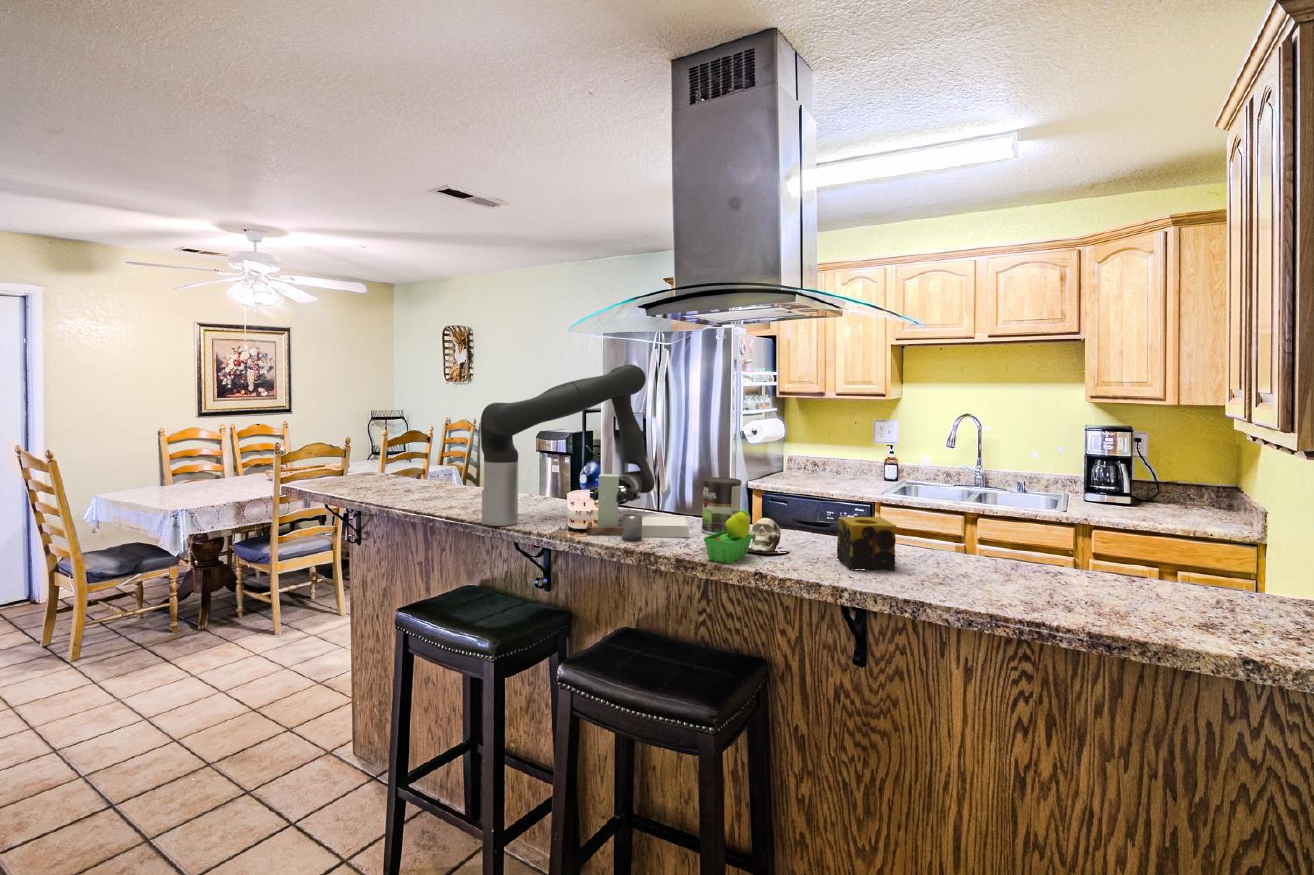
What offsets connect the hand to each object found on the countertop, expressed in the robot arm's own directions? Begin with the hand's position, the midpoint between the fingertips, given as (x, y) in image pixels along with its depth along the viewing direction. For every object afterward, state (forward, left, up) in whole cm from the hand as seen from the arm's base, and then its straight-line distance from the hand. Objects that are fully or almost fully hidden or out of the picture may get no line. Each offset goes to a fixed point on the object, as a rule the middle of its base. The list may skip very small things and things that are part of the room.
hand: (606, 497), depth 179 cm
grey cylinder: (+7, -8, -9) cm, 14 cm away
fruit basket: (+29, -27, -10) cm, 40 cm away
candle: (+58, -32, -10) cm, 67 cm away
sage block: (+1, +2, -9) cm, 9 cm away
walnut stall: (+1, +2, -9) cm, 10 cm away
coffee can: (+31, +3, -10) cm, 32 cm away
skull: (+38, -18, -10) cm, 43 cm away
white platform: (+15, +1, -9) cm, 18 cm away
